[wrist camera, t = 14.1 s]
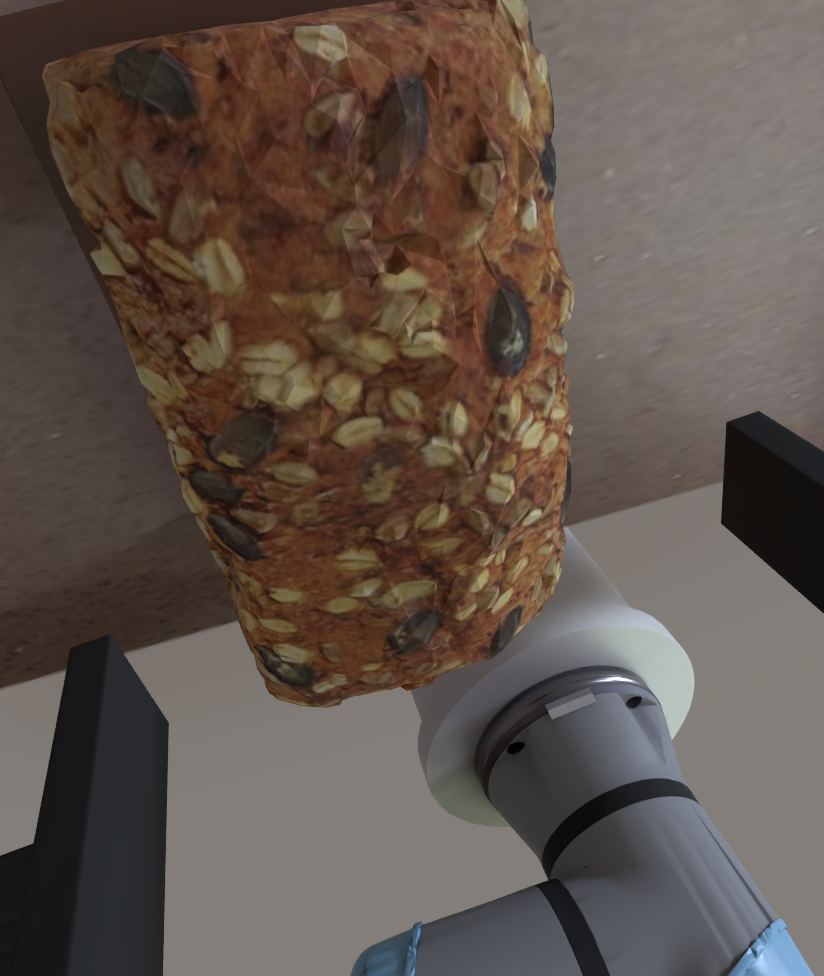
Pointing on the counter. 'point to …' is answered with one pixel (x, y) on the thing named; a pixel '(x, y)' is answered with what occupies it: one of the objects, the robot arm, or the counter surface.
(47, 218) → the counter surface
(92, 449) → the counter surface
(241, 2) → the shelf
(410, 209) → the bread
